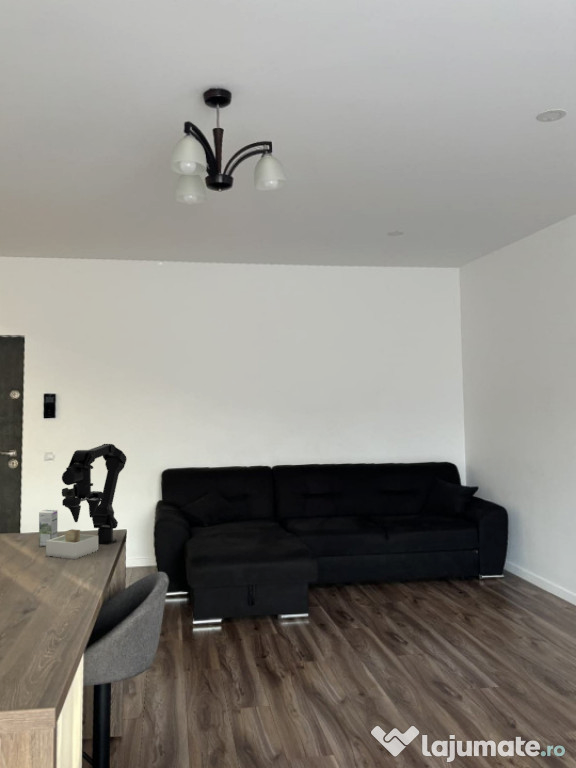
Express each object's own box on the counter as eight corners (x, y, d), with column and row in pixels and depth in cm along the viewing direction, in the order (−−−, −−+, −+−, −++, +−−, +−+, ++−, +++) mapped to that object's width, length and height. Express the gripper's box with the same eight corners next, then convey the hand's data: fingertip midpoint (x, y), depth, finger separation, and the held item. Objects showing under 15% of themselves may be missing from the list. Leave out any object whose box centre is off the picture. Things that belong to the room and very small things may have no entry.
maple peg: (71, 549, 254) (71, 529, 255) (80, 549, 253) (80, 529, 253) (65, 551, 251) (65, 531, 251) (73, 552, 249) (73, 532, 249)
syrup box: (58, 543, 269) (58, 509, 269) (51, 546, 263) (51, 512, 263) (45, 543, 269) (45, 509, 269) (38, 546, 263) (38, 511, 263)
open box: (70, 547, 261) (70, 533, 261) (98, 550, 256) (98, 535, 256) (46, 556, 248) (46, 540, 248) (75, 559, 243) (75, 543, 243)
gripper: (82, 477, 267) (83, 513, 267) (51, 483, 249) (51, 523, 249) (104, 478, 263) (104, 515, 263) (73, 485, 245) (74, 525, 245)
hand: (83, 519), depth 255 cm, fingers open, 9 cm apart
